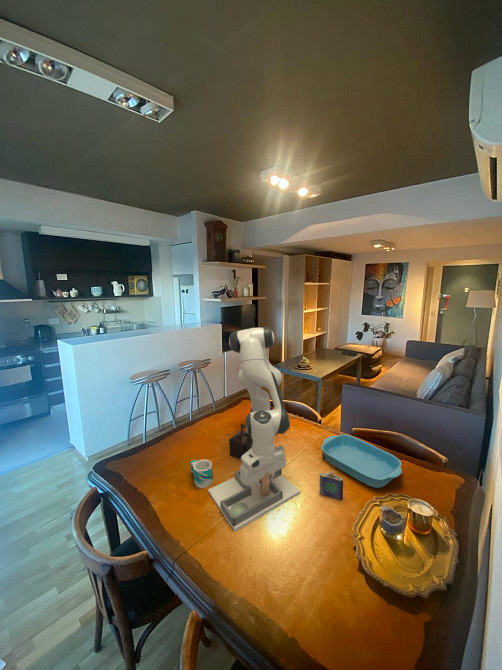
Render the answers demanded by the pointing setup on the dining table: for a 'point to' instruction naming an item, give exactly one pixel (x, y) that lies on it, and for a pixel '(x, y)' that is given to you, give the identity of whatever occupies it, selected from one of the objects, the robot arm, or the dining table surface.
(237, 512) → the pad
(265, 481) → the peg
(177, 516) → the dining table surface
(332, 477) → the flask
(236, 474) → the channel
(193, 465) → the mug
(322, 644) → the dining table surface
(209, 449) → the dining table surface
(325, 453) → the casserole dish
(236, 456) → the coffee grinder
